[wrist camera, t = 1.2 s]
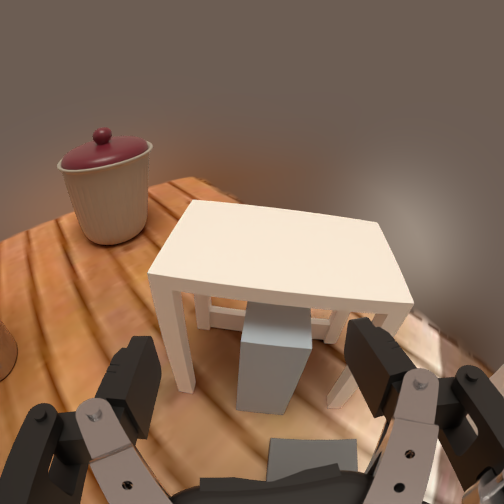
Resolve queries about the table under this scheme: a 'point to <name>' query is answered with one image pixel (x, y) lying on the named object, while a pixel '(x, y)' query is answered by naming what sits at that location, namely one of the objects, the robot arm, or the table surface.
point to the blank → (272, 356)
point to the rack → (274, 275)
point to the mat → (309, 456)
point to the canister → (108, 185)
